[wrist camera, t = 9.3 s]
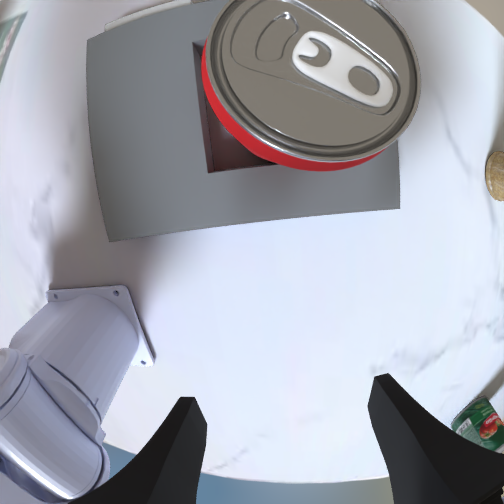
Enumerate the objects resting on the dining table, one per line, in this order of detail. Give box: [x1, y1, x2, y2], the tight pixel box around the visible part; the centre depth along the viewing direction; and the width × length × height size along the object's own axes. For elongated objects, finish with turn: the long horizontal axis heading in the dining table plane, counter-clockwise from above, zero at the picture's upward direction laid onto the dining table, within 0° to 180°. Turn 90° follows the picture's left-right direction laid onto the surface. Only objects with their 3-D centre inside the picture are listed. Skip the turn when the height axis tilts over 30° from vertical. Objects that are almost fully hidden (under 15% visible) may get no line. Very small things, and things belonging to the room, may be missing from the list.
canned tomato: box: [451, 396, 504, 453], centre depth 23 cm, size 8×8×11 cm
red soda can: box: [201, 0, 421, 172], centre depth 10 cm, size 5×5×12 cm
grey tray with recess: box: [86, 0, 400, 242], centre depth 14 cm, size 18×15×2 cm
